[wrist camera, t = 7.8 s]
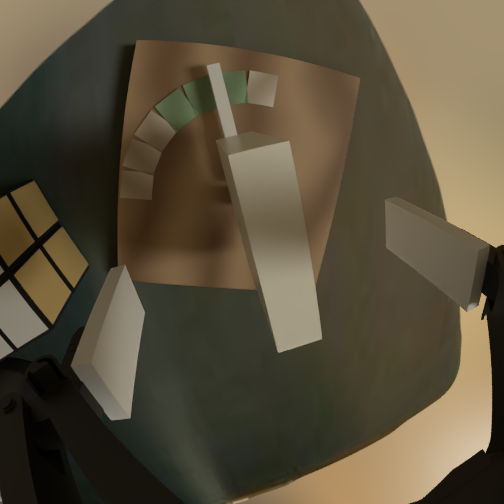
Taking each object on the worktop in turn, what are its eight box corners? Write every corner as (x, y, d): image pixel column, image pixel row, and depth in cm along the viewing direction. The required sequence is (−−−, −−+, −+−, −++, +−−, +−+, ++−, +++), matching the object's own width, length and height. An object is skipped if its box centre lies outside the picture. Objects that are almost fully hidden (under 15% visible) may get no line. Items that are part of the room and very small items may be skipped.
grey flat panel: (196, 70, 20) (194, 23, 9) (228, 63, 20) (257, 11, 9) (244, 254, 27) (278, 352, 16) (271, 247, 27) (322, 338, 16)
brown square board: (121, 271, 27) (118, 280, 26) (140, 44, 20) (136, 39, 18) (308, 284, 31) (314, 293, 29) (352, 79, 23) (361, 78, 22)
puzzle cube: (30, 307, 27) (-8, 368, 18) (-22, 232, 23) (-78, 277, 14) (92, 265, 27) (54, 330, 18) (34, 176, 22) (-31, 210, 13)
